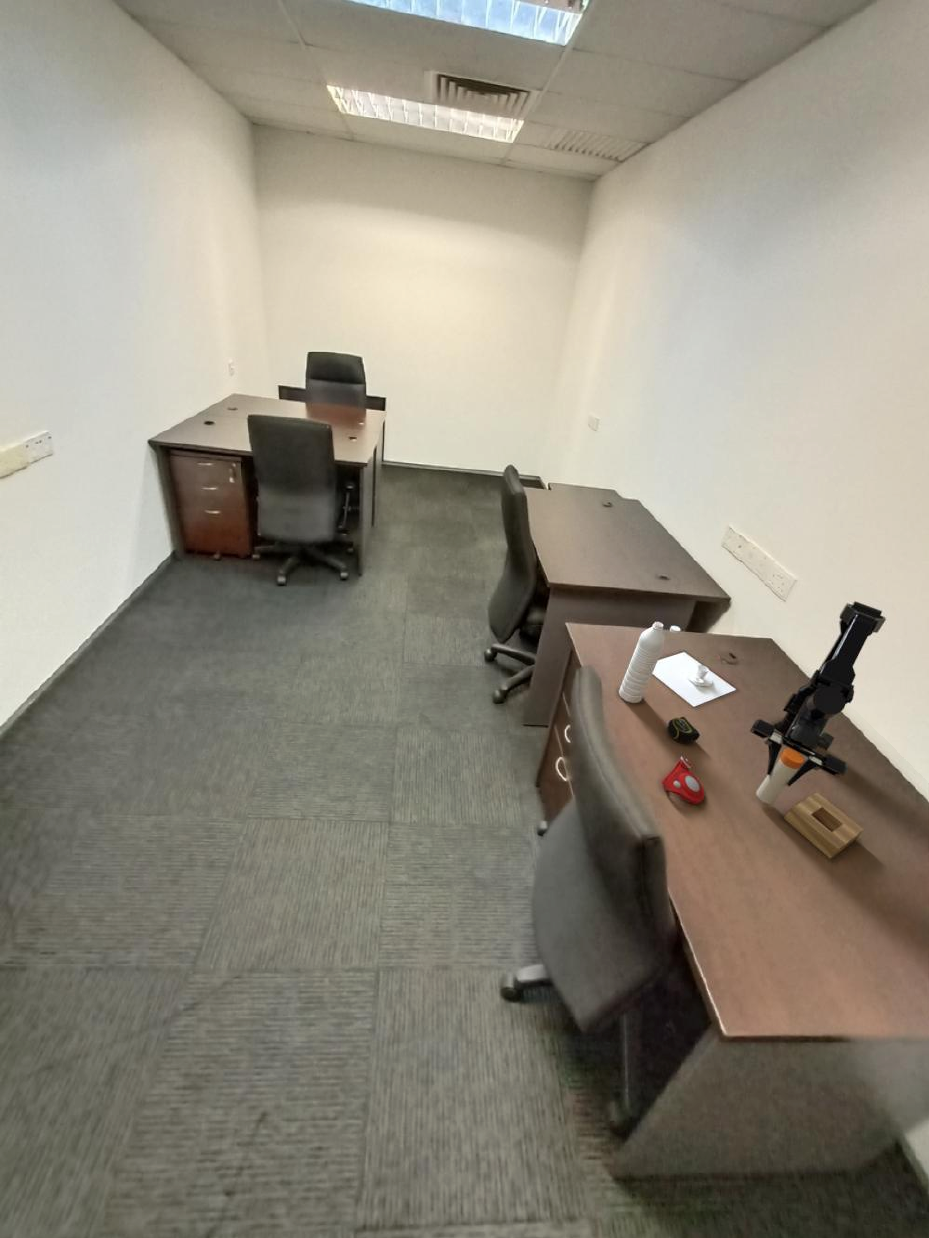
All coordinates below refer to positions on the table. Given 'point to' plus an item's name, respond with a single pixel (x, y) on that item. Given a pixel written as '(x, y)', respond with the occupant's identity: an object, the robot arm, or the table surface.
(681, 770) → the tracker holder
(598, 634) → the table surface
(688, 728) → the tape measure
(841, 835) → the holder
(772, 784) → the glue stick
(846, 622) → the robot arm
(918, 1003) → the table surface
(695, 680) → the teacup and saucer
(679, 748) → the table surface
